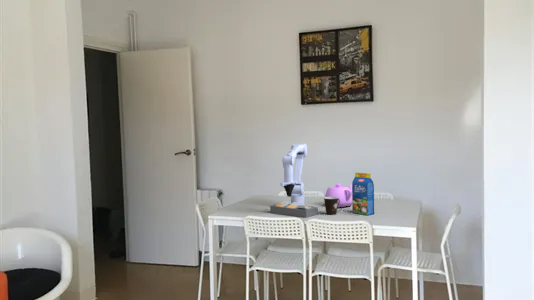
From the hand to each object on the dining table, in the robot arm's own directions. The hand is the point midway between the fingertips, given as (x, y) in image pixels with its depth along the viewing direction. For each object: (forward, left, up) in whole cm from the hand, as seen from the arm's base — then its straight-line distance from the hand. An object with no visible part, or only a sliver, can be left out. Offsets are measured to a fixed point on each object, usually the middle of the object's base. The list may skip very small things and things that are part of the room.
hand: (289, 196), depth 299 cm
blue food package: (-22, +40, -11) cm, 47 cm away
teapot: (-37, +14, -11) cm, 41 cm away
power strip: (+1, +4, -10) cm, 11 cm away
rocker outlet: (+1, +13, -6) cm, 14 cm away
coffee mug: (-12, +25, -11) cm, 30 cm away
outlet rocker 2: (+1, +4, -6) cm, 7 cm away
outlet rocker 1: (+1, -5, -6) cm, 8 cm away
